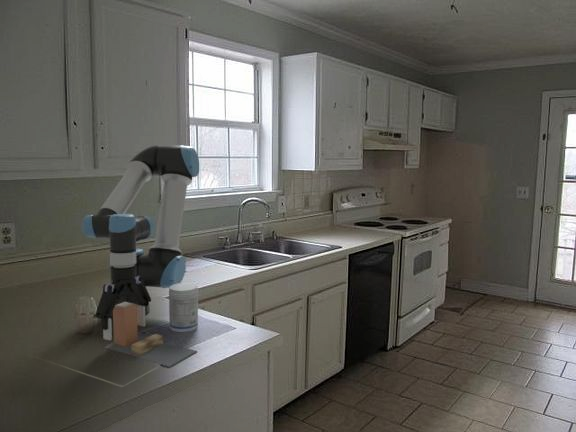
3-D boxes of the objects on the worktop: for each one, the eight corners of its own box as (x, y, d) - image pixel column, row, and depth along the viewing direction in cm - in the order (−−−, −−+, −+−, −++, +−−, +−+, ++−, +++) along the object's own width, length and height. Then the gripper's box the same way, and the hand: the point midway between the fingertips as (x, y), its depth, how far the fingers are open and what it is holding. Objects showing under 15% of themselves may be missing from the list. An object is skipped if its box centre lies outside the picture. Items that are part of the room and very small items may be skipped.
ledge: (155, 342, 151) (155, 333, 150) (162, 344, 149) (162, 335, 149) (131, 354, 142) (131, 344, 142) (139, 356, 141) (138, 346, 140)
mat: (133, 335, 157) (133, 334, 156) (196, 352, 144) (196, 350, 144) (103, 348, 146) (103, 347, 146) (169, 367, 134) (169, 366, 134)
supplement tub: (171, 323, 168) (171, 282, 165) (199, 322, 168) (198, 282, 166) (167, 334, 158) (166, 290, 156) (196, 333, 159) (196, 290, 157)
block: (126, 337, 153) (125, 300, 151) (137, 341, 151) (136, 303, 149) (114, 343, 149) (112, 305, 147) (125, 346, 146) (124, 308, 145)
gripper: (144, 256, 159) (145, 318, 162) (80, 271, 137) (82, 343, 140) (161, 258, 156) (162, 322, 158) (98, 275, 134) (101, 348, 136)
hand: (125, 332), depth 149 cm, fingers open, 13 cm apart
